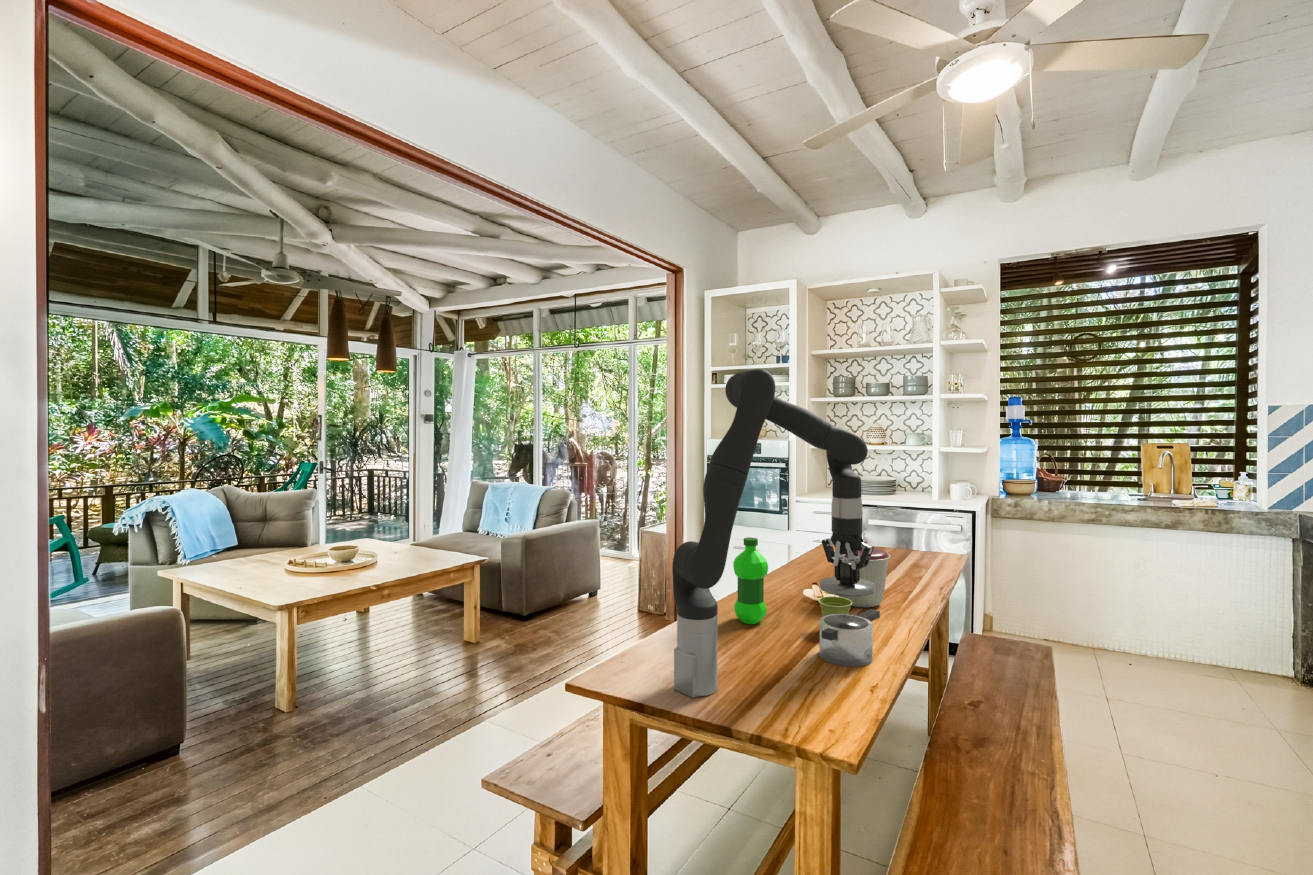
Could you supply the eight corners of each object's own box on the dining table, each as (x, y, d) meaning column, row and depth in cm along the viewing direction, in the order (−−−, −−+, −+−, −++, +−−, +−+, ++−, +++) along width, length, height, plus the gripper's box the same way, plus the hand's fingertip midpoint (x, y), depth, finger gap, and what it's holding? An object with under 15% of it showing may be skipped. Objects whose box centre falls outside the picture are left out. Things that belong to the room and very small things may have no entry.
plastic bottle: (773, 620, 190) (774, 538, 189) (755, 629, 182) (756, 544, 181) (745, 613, 197) (745, 534, 195) (726, 622, 188) (726, 539, 187)
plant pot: (847, 638, 174) (847, 608, 174) (813, 632, 179) (813, 602, 179) (855, 628, 182) (856, 599, 182) (823, 623, 187) (823, 594, 187)
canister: (821, 602, 207) (821, 539, 206) (850, 591, 219) (851, 532, 219) (872, 615, 194) (872, 548, 193) (900, 603, 206) (901, 539, 205)
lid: (857, 600, 150) (857, 573, 150) (809, 588, 160) (808, 563, 160) (885, 588, 160) (885, 562, 159) (837, 577, 170) (837, 554, 169)
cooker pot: (850, 674, 151) (850, 637, 150) (803, 659, 160) (803, 624, 160) (897, 647, 168) (898, 614, 167) (853, 635, 177) (853, 603, 177)
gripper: (814, 513, 162) (814, 579, 163) (865, 520, 151) (865, 590, 152) (830, 509, 167) (830, 573, 168) (880, 515, 156) (880, 584, 157)
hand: (847, 581), depth 160 cm, fingers closed on lid, 3 cm apart
